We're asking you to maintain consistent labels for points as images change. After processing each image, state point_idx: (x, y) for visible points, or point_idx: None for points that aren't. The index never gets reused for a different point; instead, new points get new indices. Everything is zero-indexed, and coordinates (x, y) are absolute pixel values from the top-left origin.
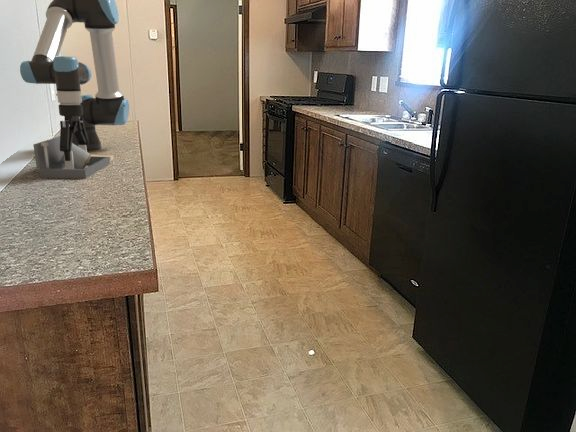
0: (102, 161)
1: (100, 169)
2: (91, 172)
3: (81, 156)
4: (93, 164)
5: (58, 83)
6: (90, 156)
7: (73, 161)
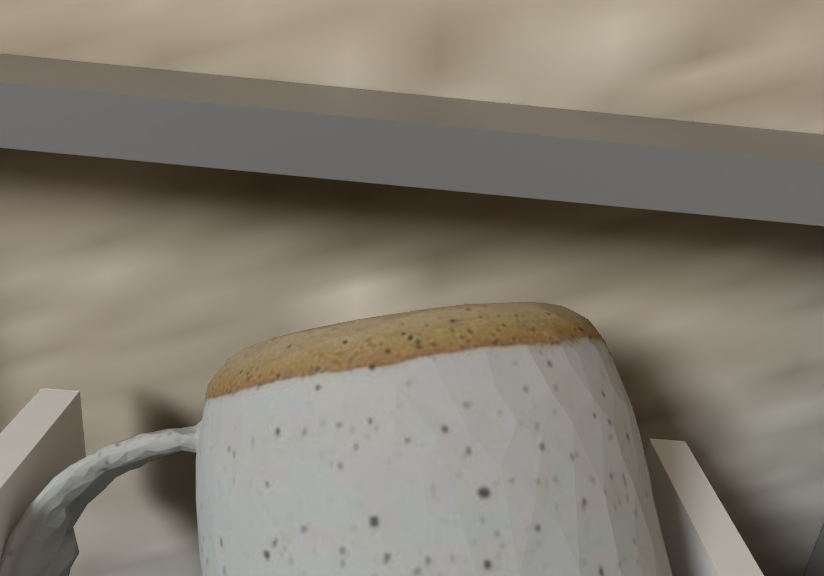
0: (120, 90)
1: (317, 86)
2: (781, 138)
3: (633, 480)
4: (591, 173)
5: None
6: (438, 320)
7: (705, 537)
